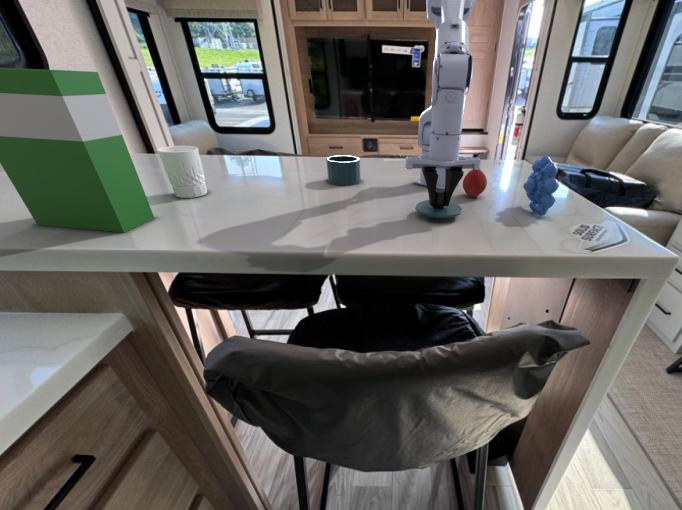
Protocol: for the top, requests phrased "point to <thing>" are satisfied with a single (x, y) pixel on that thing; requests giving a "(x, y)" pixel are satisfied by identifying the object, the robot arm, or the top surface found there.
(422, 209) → the lid
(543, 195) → the grapes
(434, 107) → the robot arm
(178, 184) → the white cup
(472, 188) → the onion
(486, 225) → the top surface
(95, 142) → the hardback book
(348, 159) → the pot
